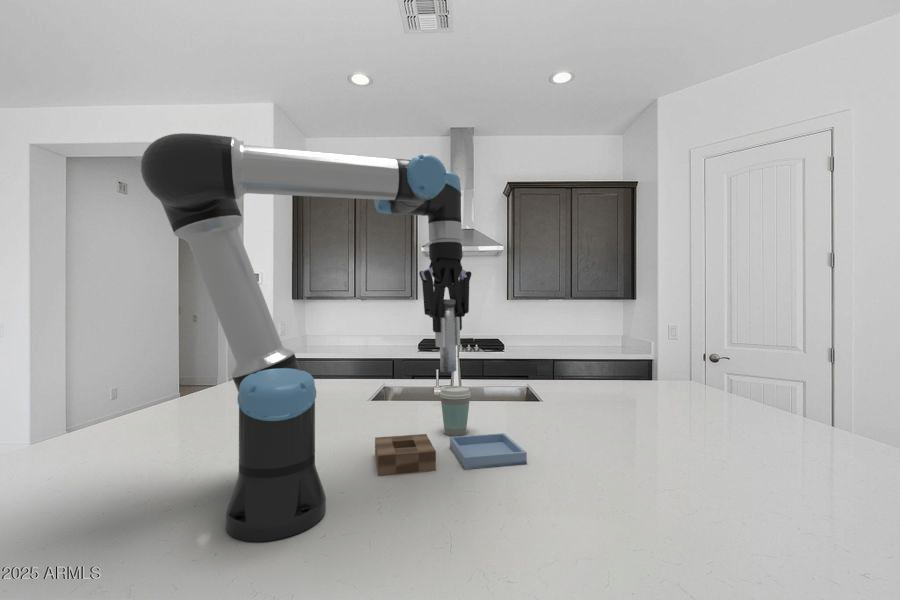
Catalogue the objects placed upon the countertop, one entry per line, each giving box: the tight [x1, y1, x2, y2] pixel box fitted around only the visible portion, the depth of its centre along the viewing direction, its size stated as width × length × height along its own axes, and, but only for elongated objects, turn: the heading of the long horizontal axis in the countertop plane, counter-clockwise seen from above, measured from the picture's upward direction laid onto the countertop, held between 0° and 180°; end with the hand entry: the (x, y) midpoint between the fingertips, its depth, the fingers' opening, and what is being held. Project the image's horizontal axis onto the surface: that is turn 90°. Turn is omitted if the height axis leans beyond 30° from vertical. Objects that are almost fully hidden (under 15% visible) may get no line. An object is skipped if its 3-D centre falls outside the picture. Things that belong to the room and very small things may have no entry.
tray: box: [449, 432, 528, 470], centre depth 97 cm, size 14×14×2 cm
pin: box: [439, 298, 457, 373], centre depth 96 cm, size 4×4×16 cm
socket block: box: [374, 433, 437, 477], centre depth 93 cm, size 12×12×4 cm
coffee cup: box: [439, 385, 472, 437], centre depth 114 cm, size 8×8×12 cm
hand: (448, 345), depth 96 cm, fingers closed on pin, 3 cm apart
